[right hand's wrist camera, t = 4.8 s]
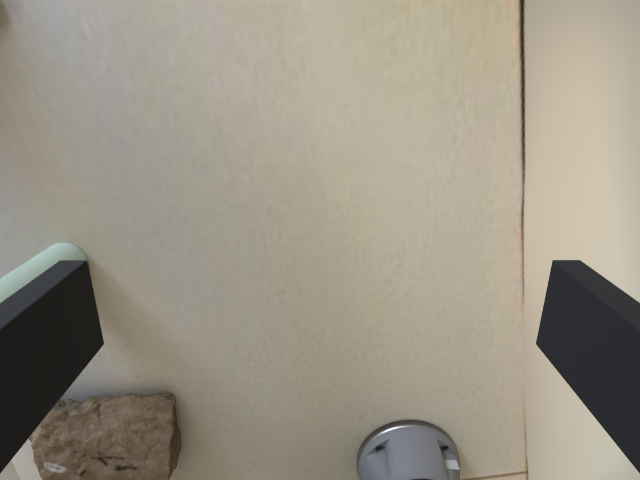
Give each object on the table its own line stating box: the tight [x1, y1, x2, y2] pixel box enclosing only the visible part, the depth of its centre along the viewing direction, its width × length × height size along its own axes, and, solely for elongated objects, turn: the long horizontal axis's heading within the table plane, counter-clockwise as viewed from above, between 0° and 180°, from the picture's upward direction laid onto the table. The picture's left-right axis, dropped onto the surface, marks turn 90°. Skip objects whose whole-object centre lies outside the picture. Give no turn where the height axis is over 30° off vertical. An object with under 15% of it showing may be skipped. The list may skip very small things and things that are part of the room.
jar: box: [0, 242, 89, 303], centre depth 48 cm, size 5×5×18 cm
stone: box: [29, 393, 181, 480], centre depth 63 cm, size 21×15×6 cm
